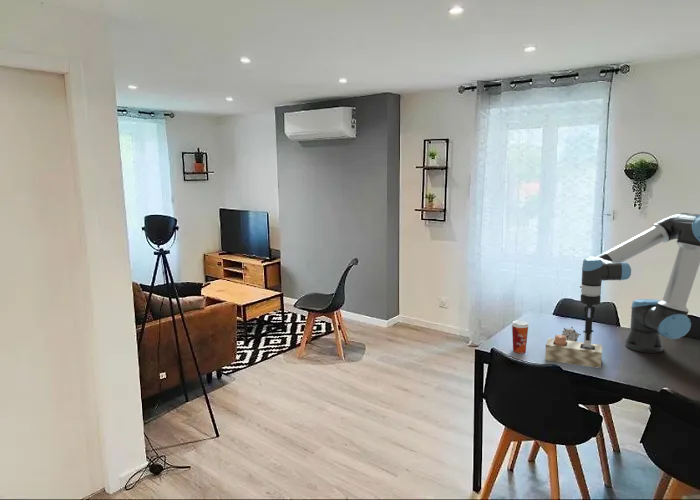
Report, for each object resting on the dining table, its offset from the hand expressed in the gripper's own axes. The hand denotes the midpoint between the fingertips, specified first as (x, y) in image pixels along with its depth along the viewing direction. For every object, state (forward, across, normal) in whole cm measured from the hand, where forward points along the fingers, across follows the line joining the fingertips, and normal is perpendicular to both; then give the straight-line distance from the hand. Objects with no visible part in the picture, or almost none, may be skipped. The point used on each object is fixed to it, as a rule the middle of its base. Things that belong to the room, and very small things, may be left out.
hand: (587, 346), depth 204 cm
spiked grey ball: (+7, -21, -8) cm, 24 cm away
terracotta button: (+3, 0, -11) cm, 11 cm away
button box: (+7, 0, -5) cm, 9 cm away
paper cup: (+8, -1, -28) cm, 29 cm away
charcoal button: (+6, 0, 0) cm, 6 cm away
